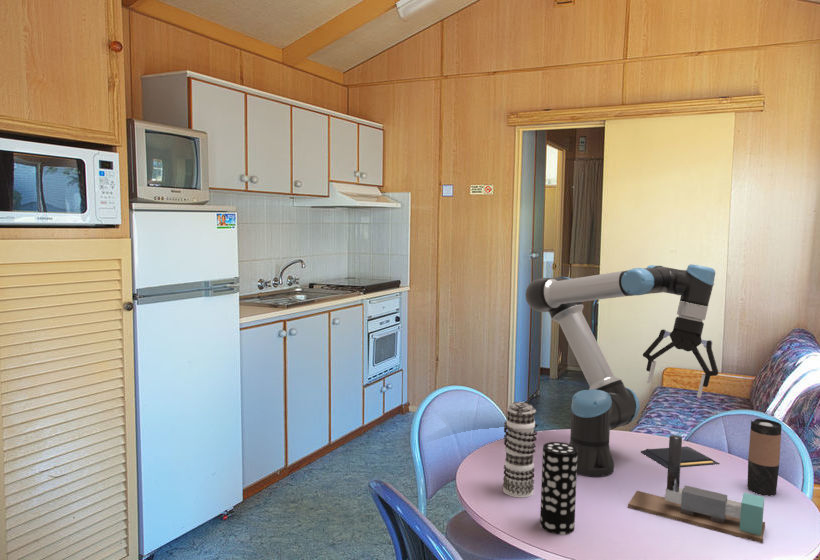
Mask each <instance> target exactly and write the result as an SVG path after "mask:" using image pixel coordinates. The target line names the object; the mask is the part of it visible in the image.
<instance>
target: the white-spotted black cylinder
mask: <svg viewBox="0 0 820 560" xmlns="http://www.w3.org/2000/svg"><path fill="white" fill-rule="evenodd" d="M577 457H578V449H577V448H576V447H575V446H573V445H571V444H569V443H567V442H560V441H549V442H546V443H544V444H543V445H542V461H541V463H542V464H541V466H542V467H541V488H540V489H541V492H540V511H539V512H540V514H539V515H540V516H539V518H540V519H539V525H540V526H539V527H541V529H542V530H544V531H546V532H548V533H551V534H554V535H568V534H571V533H573V532H574V530H575V522H576V521H575V519H576V500H577V497H576V496H577V481H578V480H577V477H578V476H577V475H578V474H577Z"/></svg>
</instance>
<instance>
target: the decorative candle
mask: <svg viewBox="0 0 820 560" xmlns="http://www.w3.org/2000/svg"><path fill="white" fill-rule="evenodd" d="M506 411H507V414H506V417H507V418H506V420H505V421H504V423H503V432H504V433H505V434H504V438H503V439H504V441H503V444H504V452H506V453H505V460H504V461H505V462H504V463H505V464H504V465H503V469H504V470H503V475H504V476H503V479H502V480H503V482H502V483H503V485H502V486H503V488H502V489H503V493H505V495H507V496H510V497H514V498H520V499H521V498H522V499H524V498H529V497H532V496H533V495H534V490H535V488H534V487H535V486H534V484H535V480H534V478H535V473H534V472H535V468H534V463H535V462H534V455H535V453H536V449H535V448H536V447H537V444H536V443H534V442H536V441H537V437H536V436H537V435H538V432H537V431H536V430H535V429H536V428H537V427H538V424H537V423H536V421H535V418H536V417H535V413H537V410H536V409H535V408H534V407H533V405H532V404H531V403H528V402H524V401H515V402H512V403H511V404H510V405H509V406H507V407H506Z"/></svg>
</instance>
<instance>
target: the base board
mask: <svg viewBox="0 0 820 560" xmlns="http://www.w3.org/2000/svg"><path fill="white" fill-rule="evenodd" d="M627 508H629V509H632V510H637V511H641V512H644V513H647V514H651V515H655V516H658V517H663V518H666V519H670V520H673V521H678V522H681V523H685V524H688V525H693V526H695V527H696V526H697V527H700V528H704V529H708V530H712V531H716V532H719V533H724V534H728V535H731V536H735V537H739V538H741V539H746V540H750V541H753V542H757V543H761V544H763V541H764V535H765V529H766V522H765V521H763V524H762V531H761V536H760V535H756V534H752V533H748V532H744V531H740V519H738V518H734V517H730V516H726V519H725V522H724V524H720V523H716V522H712V521H711V516H708V515H704V514H700V513H696V512H695V513H694V516H689V515H685V514H681V504H678V503H674V502H670V501H666V500H665V496H659V495H656V494H652V493H649V492H648V493H647V492H644V491H640V490H636V491H635V492H634V495H633V496H632V497H631V499H630V500H629V502H628V503H627Z"/></svg>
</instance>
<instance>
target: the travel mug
mask: <svg viewBox="0 0 820 560" xmlns="http://www.w3.org/2000/svg"><path fill="white" fill-rule="evenodd" d="M782 427H783V426H782V424H781V423H780V422H778V421H775V420H770V419H766V418H755V419H754V420H753V421H752V420H750V433H749V446H748V458H747V459H748V460H747V464H748V465H747V489H748V490H749V491H750V490H751V491H752V493H753V492H755V493H754V494H756V493H757V494H756V495H759V494H761V495H760V496H764V495H768V496H767V497H772V496H771V495H773V496H775V495H776V494H777V488H778V478H779V470H780V460H781V459H780V458H781V443H782V442H781V441H782ZM751 491H750V492H751Z"/></svg>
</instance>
